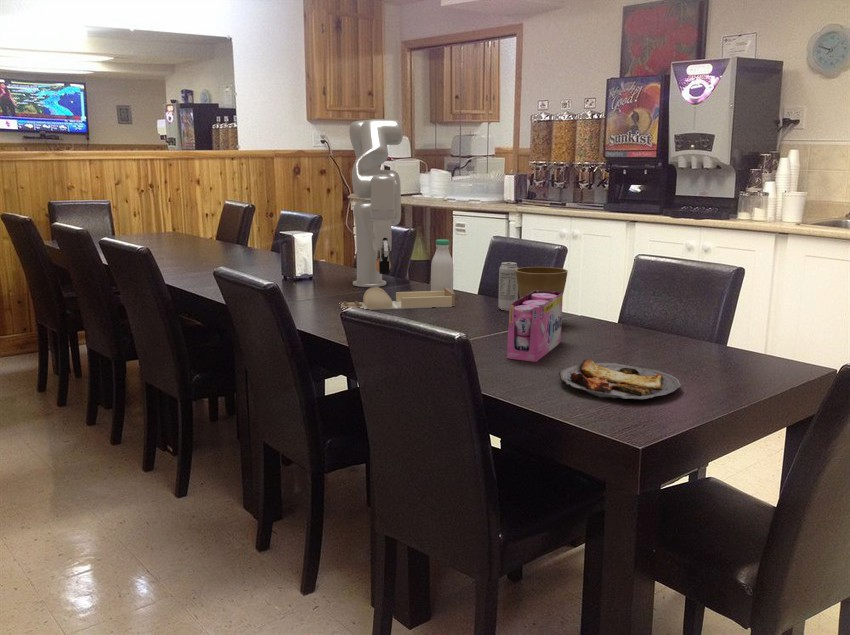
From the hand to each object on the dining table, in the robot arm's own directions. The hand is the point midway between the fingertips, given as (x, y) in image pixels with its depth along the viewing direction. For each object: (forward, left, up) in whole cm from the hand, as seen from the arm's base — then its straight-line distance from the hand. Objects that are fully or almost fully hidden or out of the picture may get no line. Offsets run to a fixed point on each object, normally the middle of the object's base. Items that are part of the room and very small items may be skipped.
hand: (383, 271), depth 247 cm
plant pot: (+34, +41, -12) cm, 54 cm away
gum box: (+63, +29, -12) cm, 70 cm away
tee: (0, -10, -11) cm, 15 cm away
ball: (0, 0, +2) cm, 2 cm away
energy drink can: (+13, +38, -12) cm, 42 cm away
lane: (0, +4, -14) cm, 15 cm away
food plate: (+96, +36, -12) cm, 103 cm away
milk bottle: (-11, +22, -12) cm, 27 cm away
